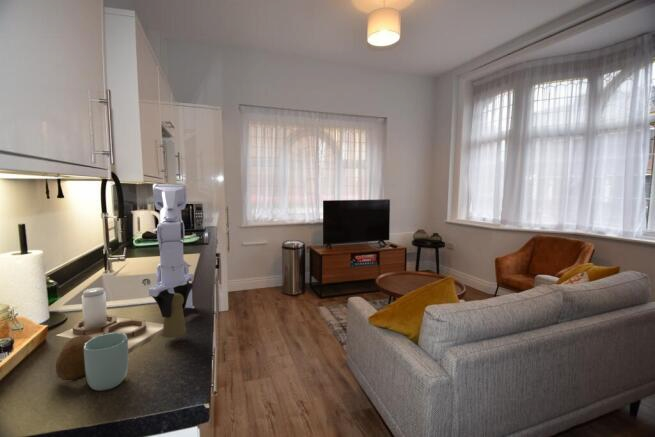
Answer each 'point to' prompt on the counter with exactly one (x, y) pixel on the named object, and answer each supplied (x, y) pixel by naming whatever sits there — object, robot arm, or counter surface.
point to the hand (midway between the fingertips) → (174, 312)
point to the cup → (106, 360)
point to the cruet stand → (119, 330)
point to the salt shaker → (94, 307)
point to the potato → (72, 359)
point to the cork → (175, 318)
